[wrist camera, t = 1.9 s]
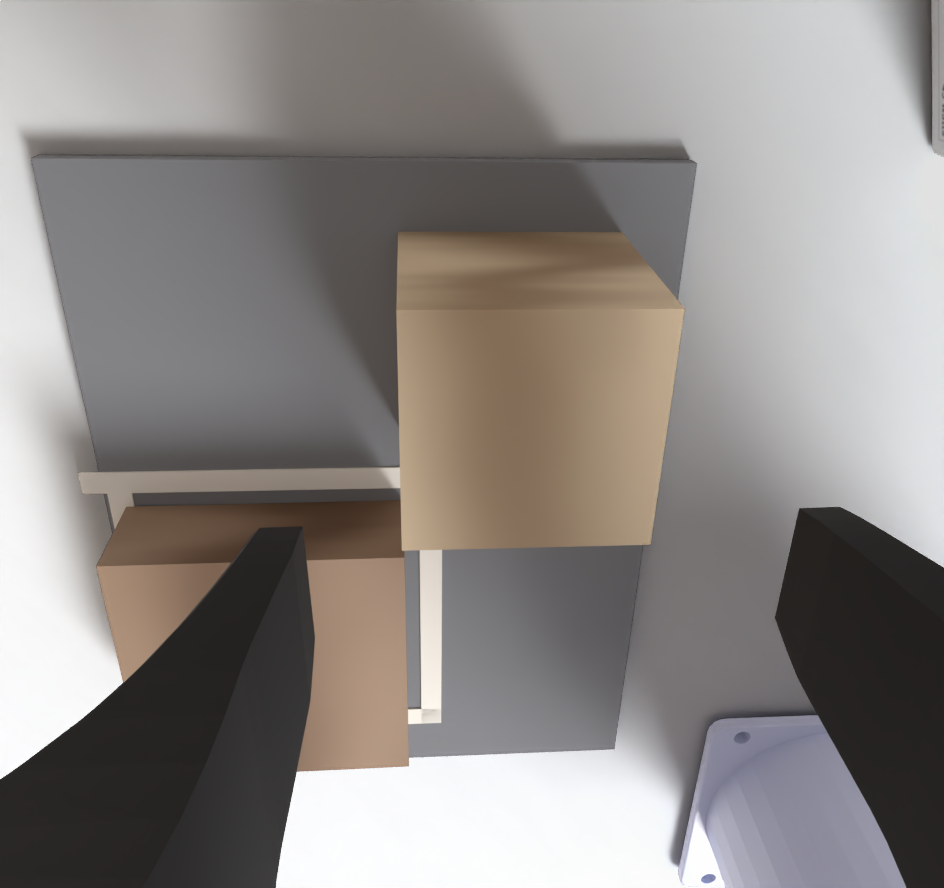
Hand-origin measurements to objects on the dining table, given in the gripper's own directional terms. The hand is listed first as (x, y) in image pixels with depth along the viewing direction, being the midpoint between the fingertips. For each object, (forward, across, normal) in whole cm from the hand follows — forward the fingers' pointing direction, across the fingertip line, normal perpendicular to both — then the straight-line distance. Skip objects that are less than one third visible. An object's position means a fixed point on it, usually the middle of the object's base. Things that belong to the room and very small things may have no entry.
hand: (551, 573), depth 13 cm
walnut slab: (+9, +6, +8) cm, 13 cm away
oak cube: (+9, 0, 0) cm, 9 cm away
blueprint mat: (+9, +3, +5) cm, 11 cm away
